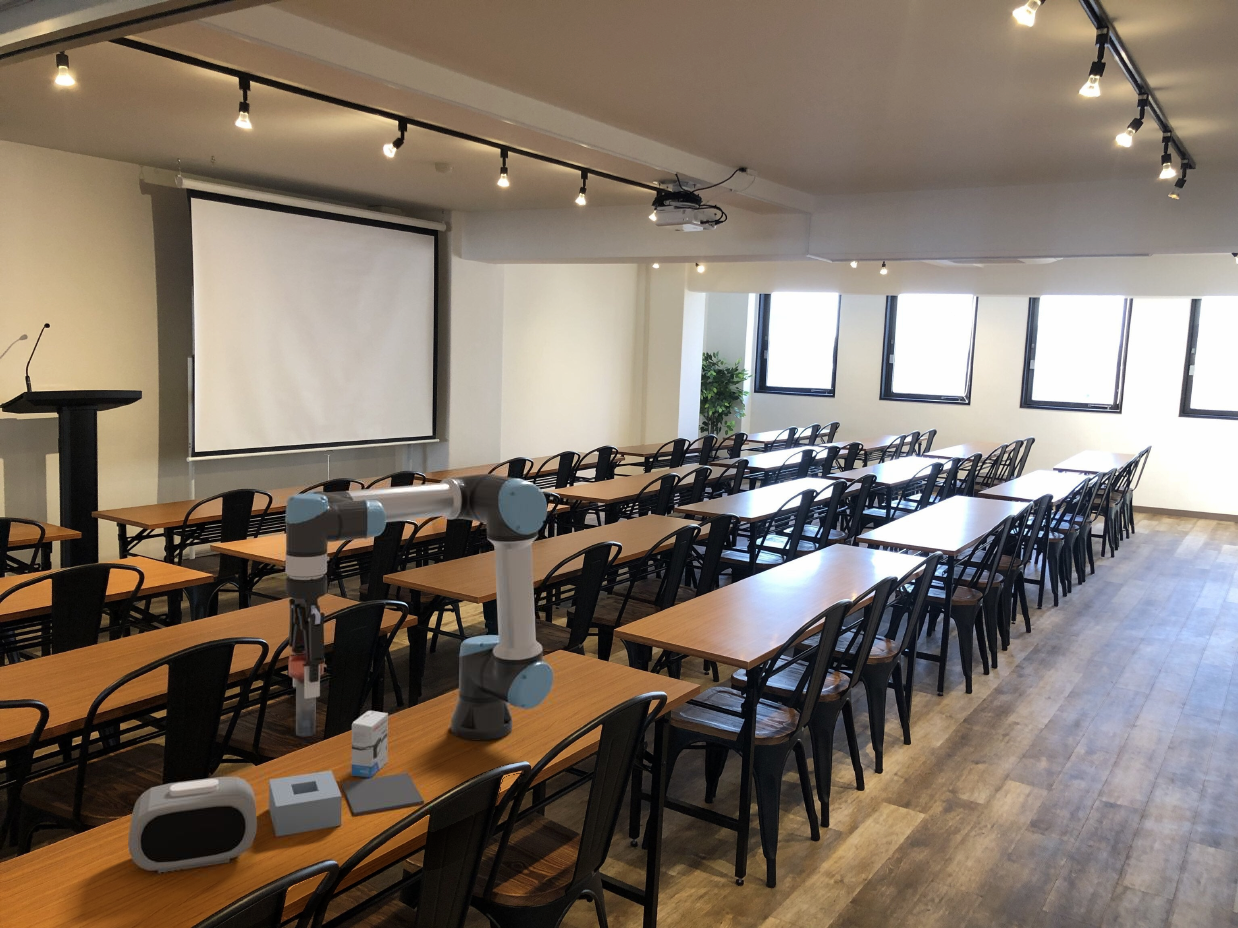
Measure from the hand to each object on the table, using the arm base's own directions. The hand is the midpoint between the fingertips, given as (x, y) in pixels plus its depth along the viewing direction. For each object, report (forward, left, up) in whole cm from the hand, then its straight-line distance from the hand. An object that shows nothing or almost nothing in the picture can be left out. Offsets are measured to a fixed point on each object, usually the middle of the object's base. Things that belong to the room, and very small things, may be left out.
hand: (306, 690), depth 181 cm
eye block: (0, 0, -26) cm, 26 cm away
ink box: (-16, -17, -26) cm, 35 cm away
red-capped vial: (0, 0, -8) cm, 8 cm away
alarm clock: (+20, +8, -26) cm, 34 cm away
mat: (-16, -4, -26) cm, 30 cm away
